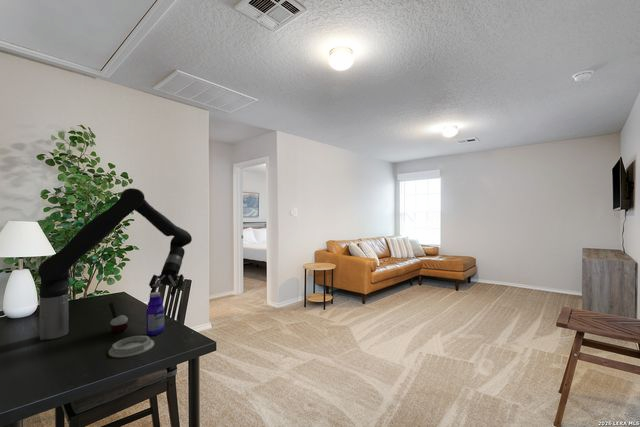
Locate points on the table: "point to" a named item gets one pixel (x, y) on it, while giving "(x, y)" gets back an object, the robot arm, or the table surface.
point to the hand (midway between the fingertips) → (162, 295)
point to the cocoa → (118, 321)
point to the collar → (131, 346)
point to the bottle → (155, 314)
